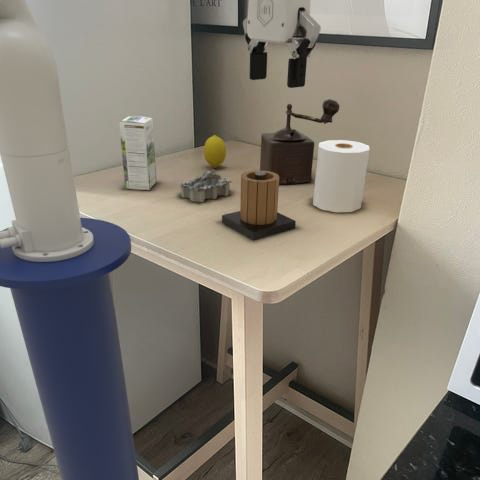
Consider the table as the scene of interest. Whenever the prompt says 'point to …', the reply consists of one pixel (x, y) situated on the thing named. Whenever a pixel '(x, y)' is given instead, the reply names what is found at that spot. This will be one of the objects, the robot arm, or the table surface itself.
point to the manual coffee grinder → (292, 148)
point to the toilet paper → (340, 175)
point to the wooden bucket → (259, 198)
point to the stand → (256, 230)
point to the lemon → (214, 151)
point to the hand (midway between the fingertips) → (276, 82)
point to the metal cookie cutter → (205, 187)
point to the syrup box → (138, 152)
